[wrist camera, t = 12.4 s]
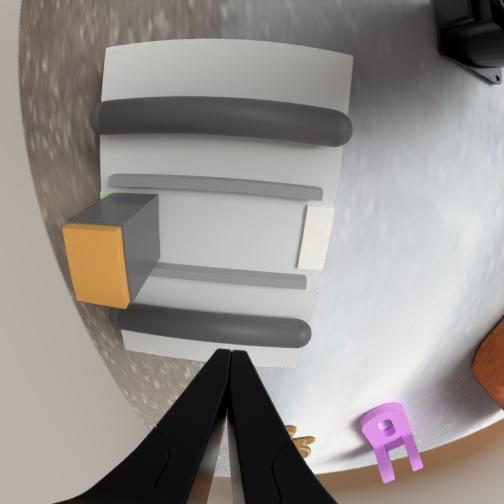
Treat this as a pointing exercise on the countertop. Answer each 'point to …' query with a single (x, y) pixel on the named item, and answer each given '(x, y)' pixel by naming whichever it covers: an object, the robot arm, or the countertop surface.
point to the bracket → (389, 437)
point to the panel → (226, 188)
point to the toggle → (113, 248)
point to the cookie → (300, 441)
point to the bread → (492, 364)
